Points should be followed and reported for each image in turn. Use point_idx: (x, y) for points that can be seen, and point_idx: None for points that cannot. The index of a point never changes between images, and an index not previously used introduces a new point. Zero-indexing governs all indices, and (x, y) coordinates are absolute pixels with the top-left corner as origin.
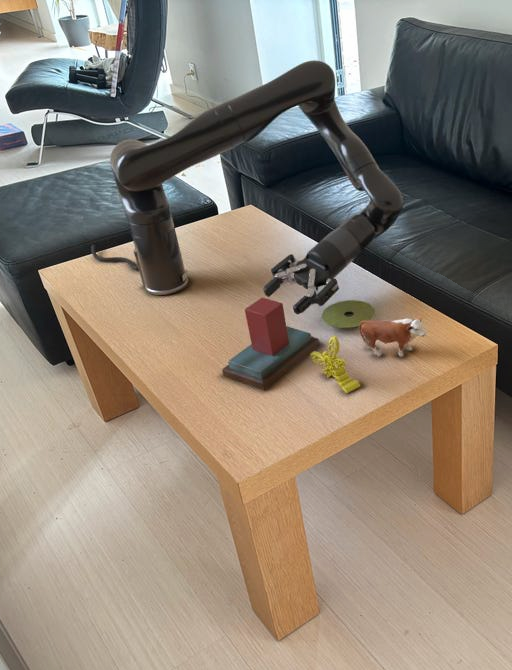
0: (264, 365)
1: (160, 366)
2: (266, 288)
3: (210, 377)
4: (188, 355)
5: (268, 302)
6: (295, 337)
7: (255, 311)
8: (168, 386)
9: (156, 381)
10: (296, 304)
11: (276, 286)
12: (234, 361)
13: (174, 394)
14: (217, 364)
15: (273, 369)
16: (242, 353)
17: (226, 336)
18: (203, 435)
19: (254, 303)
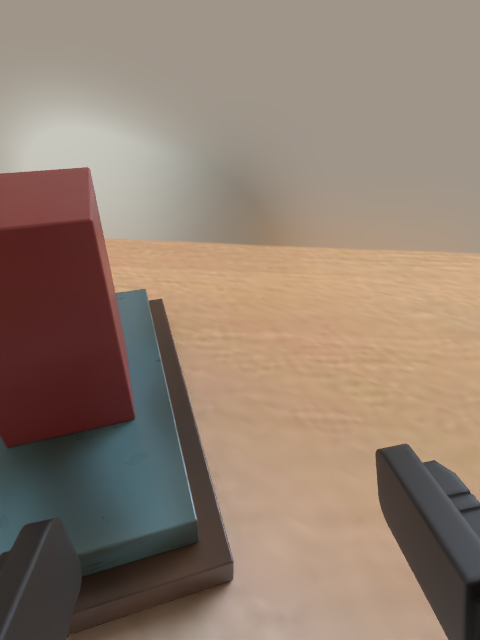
0: None
1: (321, 269)
2: (390, 453)
3: (188, 302)
4: (327, 310)
5: (4, 213)
6: (4, 498)
7: (19, 174)
8: (233, 256)
9: (269, 252)
10: (28, 543)
11: (434, 584)
12: (125, 295)
13: (197, 253)
14: (228, 330)
15: None
16: (139, 321)
17: (369, 408)
18: None
19: (80, 188)
